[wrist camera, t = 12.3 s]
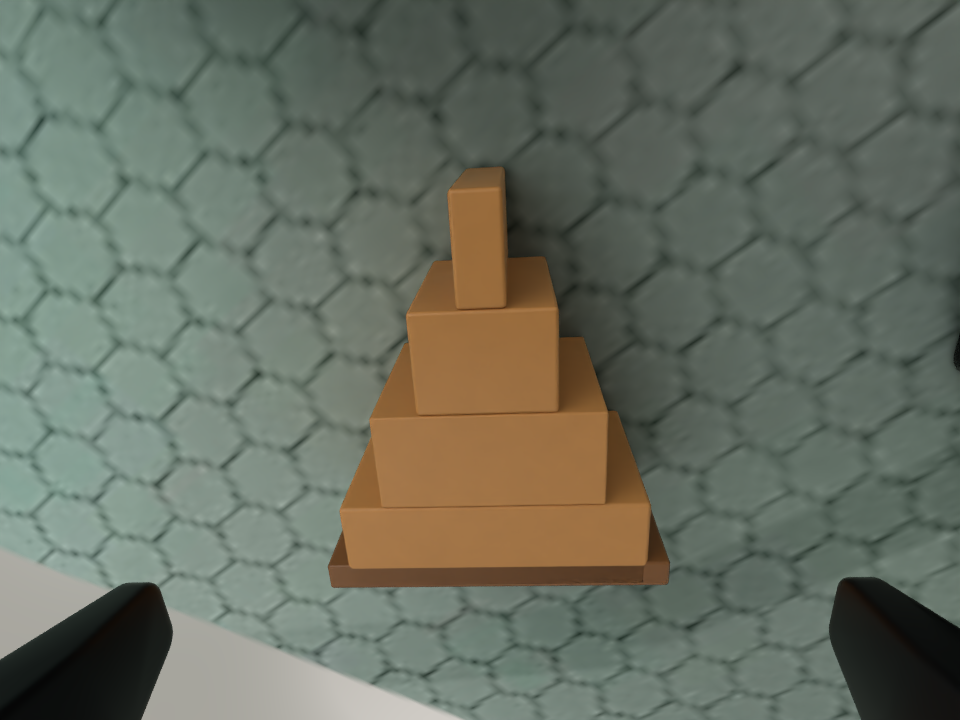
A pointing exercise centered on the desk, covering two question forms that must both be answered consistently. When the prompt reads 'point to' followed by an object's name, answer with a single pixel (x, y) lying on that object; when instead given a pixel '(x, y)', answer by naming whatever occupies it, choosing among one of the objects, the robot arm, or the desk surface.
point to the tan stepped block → (494, 436)
